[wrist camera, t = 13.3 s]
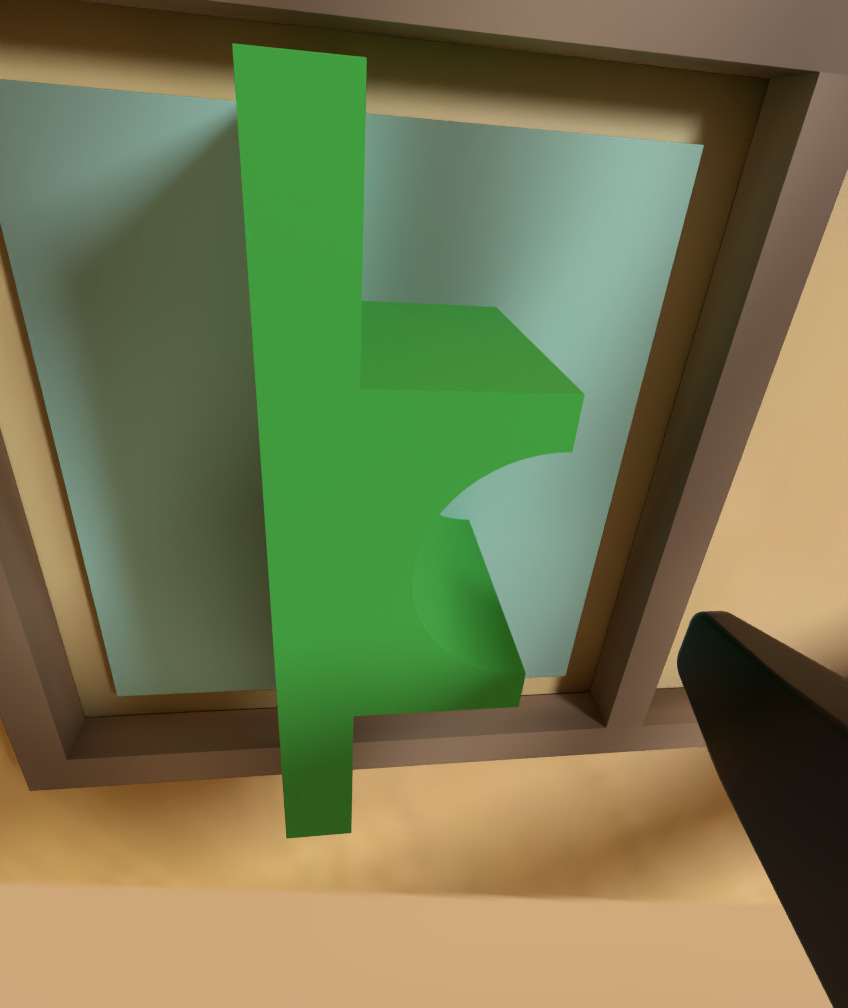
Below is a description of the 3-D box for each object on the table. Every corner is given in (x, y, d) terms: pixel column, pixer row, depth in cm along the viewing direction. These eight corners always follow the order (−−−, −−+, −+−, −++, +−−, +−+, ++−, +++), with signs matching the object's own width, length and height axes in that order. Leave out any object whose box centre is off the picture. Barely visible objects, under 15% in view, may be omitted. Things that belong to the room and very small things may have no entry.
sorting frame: (1501, 96, 12) (1612, 91, 11) (1026, 692, 20) (1065, 722, 19) (-257, -141, 7) (-351, -187, 6) (49, 747, 15) (29, 791, 14)
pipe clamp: (452, 645, 15) (494, 823, 11) (297, 650, 15) (285, 840, 11) (522, 105, 9) (658, 85, 6) (273, 81, 9) (227, 40, 5)
